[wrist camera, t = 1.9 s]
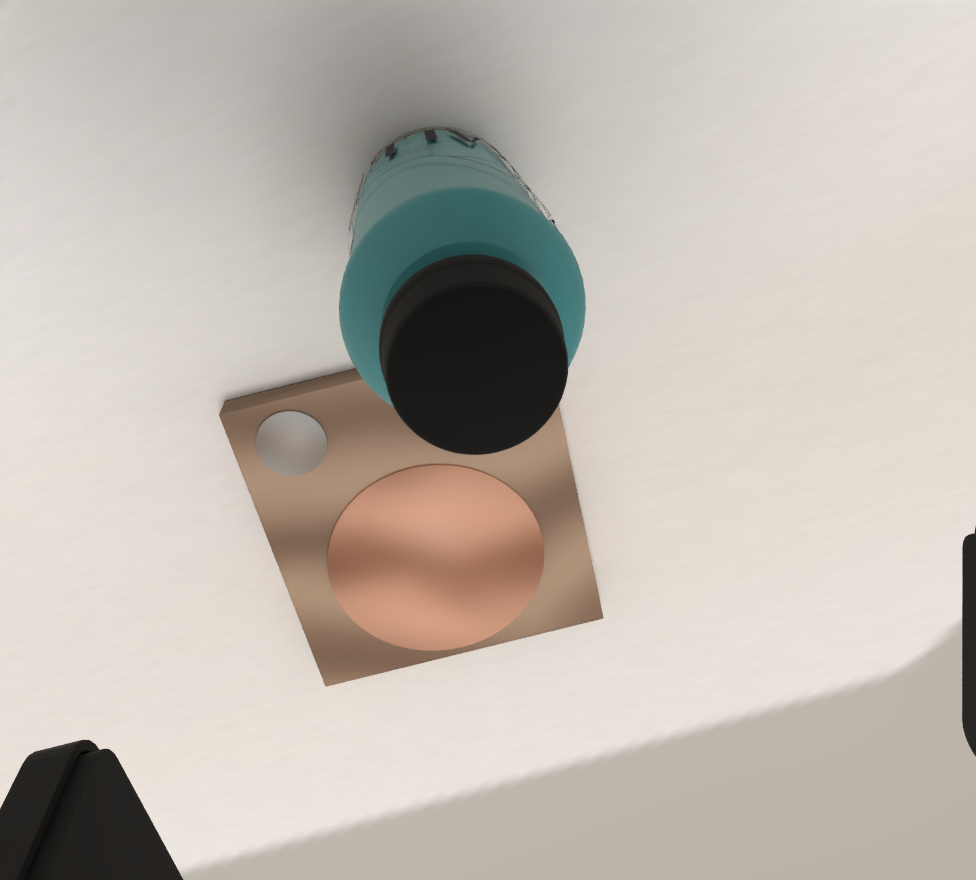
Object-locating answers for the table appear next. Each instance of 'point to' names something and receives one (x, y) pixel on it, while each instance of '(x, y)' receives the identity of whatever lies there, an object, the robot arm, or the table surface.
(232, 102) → the table surface
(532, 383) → the beverage bottle
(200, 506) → the table surface
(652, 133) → the table surface
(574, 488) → the board
